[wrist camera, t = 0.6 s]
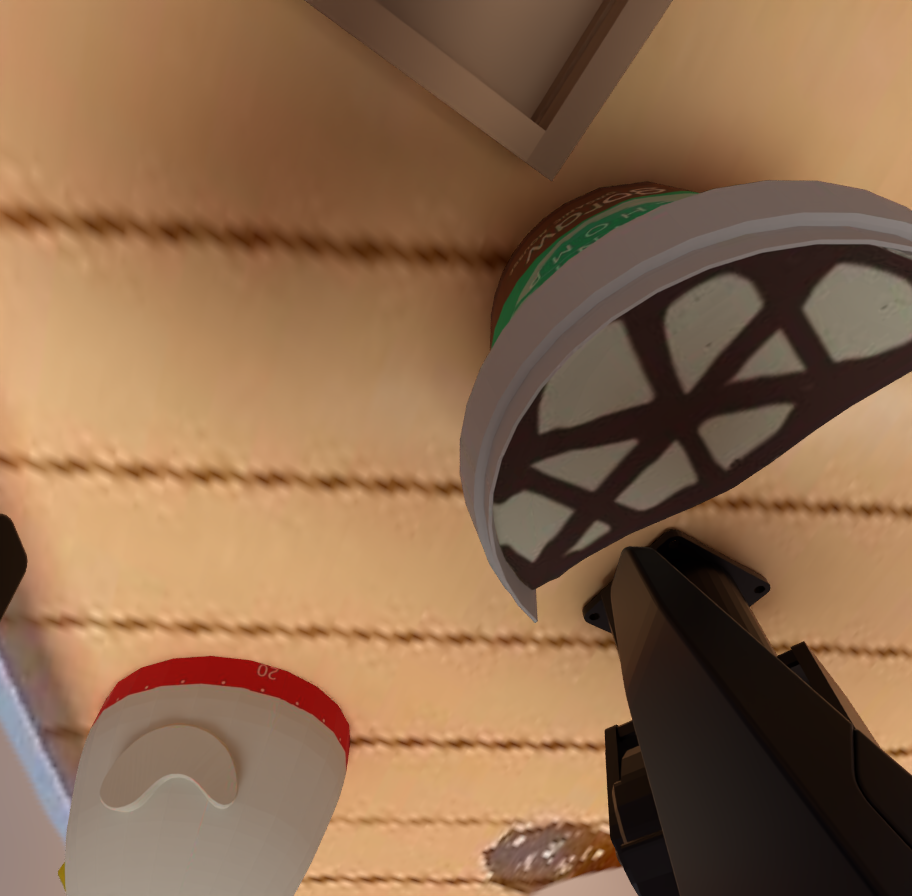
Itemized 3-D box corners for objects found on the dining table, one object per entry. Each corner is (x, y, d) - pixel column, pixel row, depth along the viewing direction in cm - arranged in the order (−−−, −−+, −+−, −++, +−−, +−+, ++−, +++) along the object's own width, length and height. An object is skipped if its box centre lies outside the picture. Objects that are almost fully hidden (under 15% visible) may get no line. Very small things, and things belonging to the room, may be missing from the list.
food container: (701, 31, 16) (981, -2, 8) (790, 211, 19) (1069, 329, 10) (380, 311, 20) (338, 484, 12) (489, 425, 23) (517, 632, 15)
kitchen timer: (74, 651, 30) (-189, 1074, 17) (345, 658, 31) (282, 1067, 18) (136, 791, 38) (-16, 1156, 25) (352, 793, 38) (310, 1148, 26)
